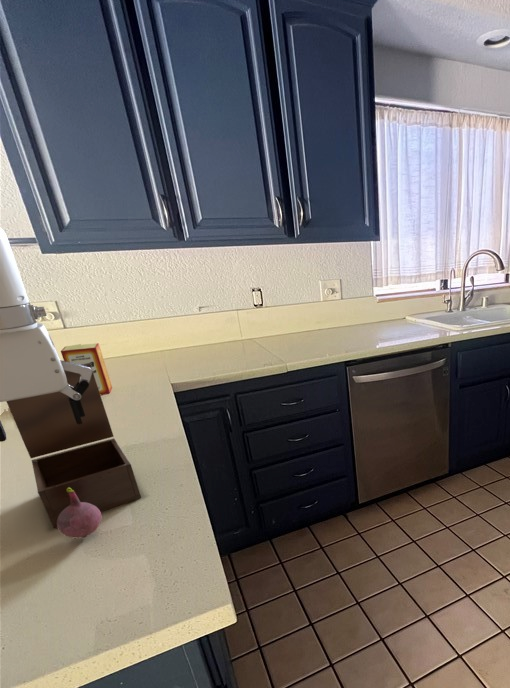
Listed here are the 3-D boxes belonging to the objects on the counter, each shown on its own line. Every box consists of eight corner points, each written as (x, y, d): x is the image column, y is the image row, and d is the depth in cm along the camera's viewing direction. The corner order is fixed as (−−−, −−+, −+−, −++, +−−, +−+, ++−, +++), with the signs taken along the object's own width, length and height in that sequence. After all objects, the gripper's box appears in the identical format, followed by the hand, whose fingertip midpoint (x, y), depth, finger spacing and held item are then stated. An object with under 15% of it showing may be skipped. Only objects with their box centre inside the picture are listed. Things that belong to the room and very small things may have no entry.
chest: (141, 497, 86) (130, 464, 82) (53, 528, 77) (37, 492, 74) (124, 468, 97) (114, 438, 93) (45, 492, 88) (31, 459, 85)
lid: (90, 363, 86) (86, 358, 89) (-4, 379, 77) (-4, 373, 81) (113, 436, 93) (109, 429, 96) (30, 458, 84) (29, 450, 88)
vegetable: (115, 528, 77) (98, 480, 73) (88, 550, 72) (68, 501, 67) (86, 524, 78) (67, 478, 74) (57, 547, 73) (35, 498, 68)
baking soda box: (112, 387, 149) (98, 342, 142) (109, 393, 144) (95, 346, 137) (80, 391, 146) (64, 345, 139) (77, 397, 140) (60, 349, 133)
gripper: (71, 309, 67) (101, 409, 75) (-83, 322, 57) (-30, 437, 65) (77, 315, 62) (110, 422, 69) (-90, 331, 52) (-32, 455, 59)
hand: (42, 429), depth 67 cm, fingers open, 9 cm apart
